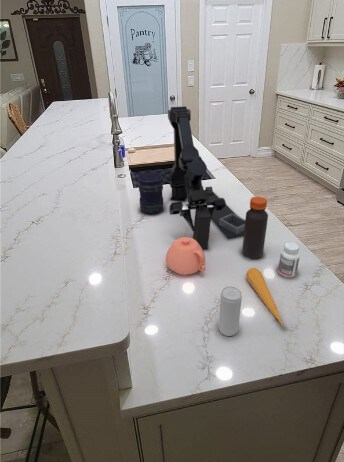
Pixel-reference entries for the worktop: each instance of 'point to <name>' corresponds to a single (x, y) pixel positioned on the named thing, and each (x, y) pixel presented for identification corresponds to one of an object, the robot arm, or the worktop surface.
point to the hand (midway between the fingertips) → (201, 230)
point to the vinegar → (255, 228)
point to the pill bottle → (289, 260)
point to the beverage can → (229, 310)
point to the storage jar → (151, 193)
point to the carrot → (262, 290)
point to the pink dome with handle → (185, 256)
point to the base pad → (222, 214)
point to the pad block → (202, 227)
